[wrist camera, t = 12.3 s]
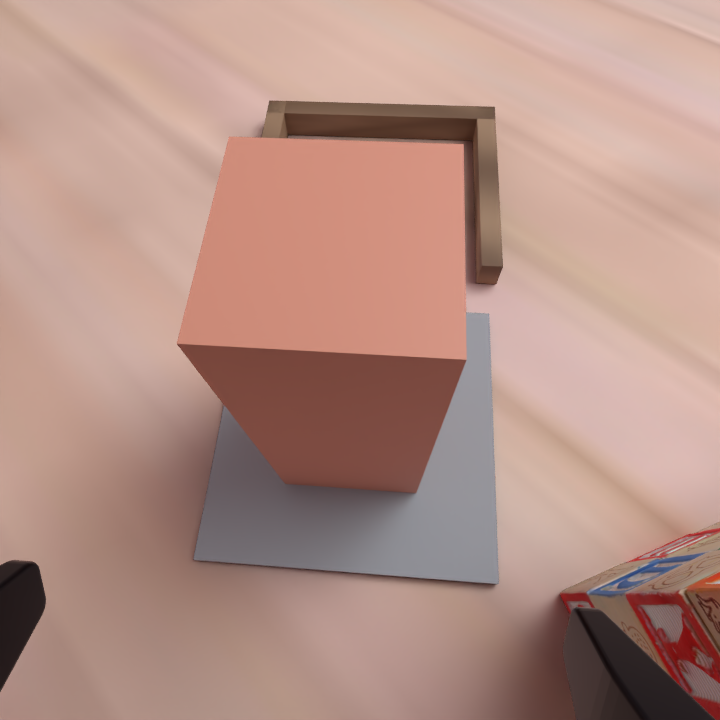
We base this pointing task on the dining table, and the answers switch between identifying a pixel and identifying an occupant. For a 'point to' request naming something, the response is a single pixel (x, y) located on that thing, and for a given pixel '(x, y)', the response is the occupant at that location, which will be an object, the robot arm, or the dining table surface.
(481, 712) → the dining table surface
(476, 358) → the slate-grey mat
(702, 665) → the stack of blocks
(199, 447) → the dining table surface
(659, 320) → the dining table surface
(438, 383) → the salmon-pink block
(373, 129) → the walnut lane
